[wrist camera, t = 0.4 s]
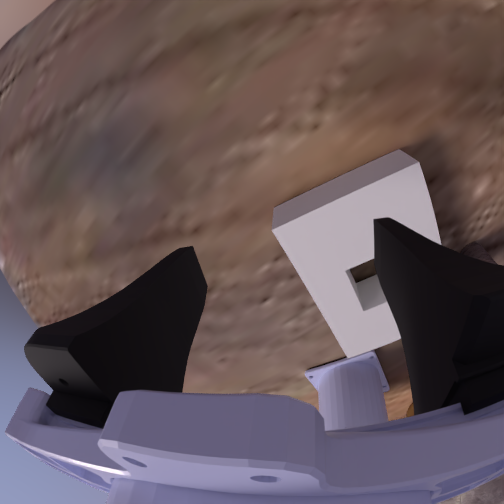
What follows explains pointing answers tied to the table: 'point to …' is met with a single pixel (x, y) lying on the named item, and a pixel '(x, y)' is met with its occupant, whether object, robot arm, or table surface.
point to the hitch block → (353, 243)
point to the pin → (477, 252)
